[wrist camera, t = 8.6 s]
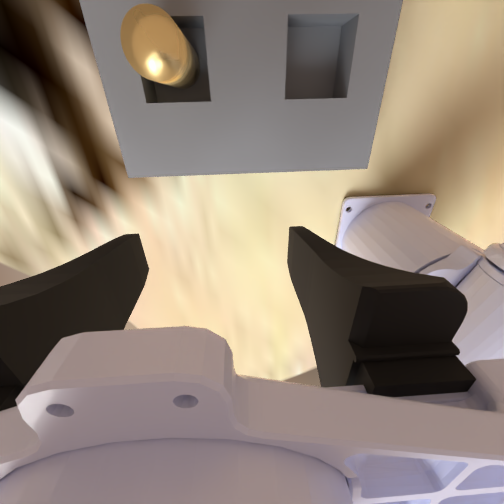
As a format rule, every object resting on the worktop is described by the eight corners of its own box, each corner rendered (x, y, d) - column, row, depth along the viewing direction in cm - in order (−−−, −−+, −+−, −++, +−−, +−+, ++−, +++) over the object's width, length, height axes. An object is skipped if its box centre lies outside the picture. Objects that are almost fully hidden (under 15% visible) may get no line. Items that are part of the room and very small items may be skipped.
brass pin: (201, 90, 16) (185, 83, 11) (161, 87, 16) (127, 79, 11) (198, 40, 15) (180, 6, 10) (156, 37, 15) (114, 0, 10)
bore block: (349, 159, 20) (367, 168, 17) (142, 167, 19) (128, 177, 16) (390, -76, 13) (427, -118, 11) (84, -76, 13) (46, -120, 10)
